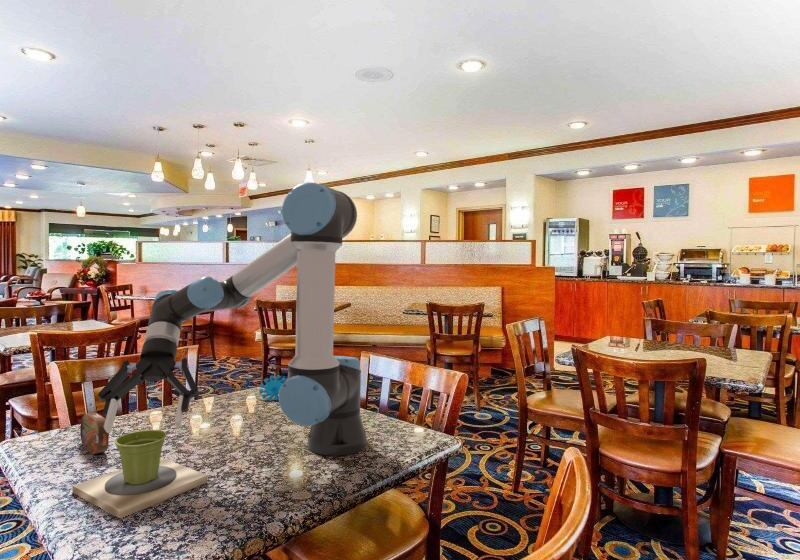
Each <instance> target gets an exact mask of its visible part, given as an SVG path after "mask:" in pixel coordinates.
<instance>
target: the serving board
mask: <svg viewBox="0 0 800 560" xmlns="http://www.w3.org/2000/svg"><path fill="white" fill-rule="evenodd" d="M207 483H208V474H205V473H202V472H200V471H197V470H194V469H192V468H189V467H187V466H184V465H182V464H179V463H177V462H174V461H173V460H169V459H167V458H165V457H162V456H161V458H160V464H159V471H158V476H157V478H156V479H152V480H150V481H149V482H147V483H144V484H136V485H131V484H130V483H125V481H124V476H123V469H122V468H120V469H117V470H114V471H112V472H109V473H105V474H102V475H100V476H96V477H94V478H90V479H87V480H85V481H82V482H79V483H76V484H72V486H71V488H72V489H71V490H72V491H71V492H72V494H73V493H74V494H73V495H75V494H76V496H77V495H78V496H77V497H79V498H81V499H82V498H83V500H84V499H85V500H84V501H86V502H88V501H89V502H88V503H89V504H91V503H92V504H91V505H93V504H94V505H93V506H95V505H96V506H95V507H97V506H98V507H100V508H101V509H100V508H99V509H100V510H102V509H103V510H102V511H104V510H105V511H104V512H106V511H107V512H109V513H111V514H112V515H111V514H110V515H111V516H113V515H114V516H113V517H115V516H116V517H118V518H122V519H124V518H126V517H125V516H127V517H129V516H131V514H132V515H133V513H134V514H136V513H138V511H139V512H140V511H144V510H146V509H148V508H150V507H152V506H155V505H157V504H159V503H161V502H164V501H166V500H170V499H171V498H174V497H176V496H178V495H180V494H183V493H185V492H187V491H190V490H193V489H194V488H197V487H200V486H202V485H204V484H207ZM98 507H97V508H98ZM107 512H106V513H107ZM135 512H136V513H135ZM109 513H108V514H109ZM128 515H129V516H128ZM116 517H115V518H116ZM123 517H124V518H123ZM118 518H117V519H118Z"/></svg>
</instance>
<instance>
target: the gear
mask: <svg viewBox="0 0 800 560" xmlns="http://www.w3.org/2000/svg"><path fill="white" fill-rule="evenodd" d="M269 379H270V380H269ZM269 379H268V378H264V379H263V382H264V383H265V384H266V385H265V384H264V383H260V384H259V387H260V389H259V392H258V393H259V394H261V397H262V399H266V400H267V401H268V400H269V401H268V402H271V401H270V400H272V398H273V401H274V400H277V401H279V398H278V397H279V391H280V388H281V386H282V385H283V383H284V382H285V381H286V380H287V378H285V377H283V376H282V377H281V375H279V374H277V375H276V377H275V375H270V376H269ZM261 388H262V389H261ZM263 389H264V390H263Z"/></svg>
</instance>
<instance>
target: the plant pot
mask: <svg viewBox="0 0 800 560" xmlns="http://www.w3.org/2000/svg"><path fill="white" fill-rule="evenodd" d="M167 434H168V433H167V432H165V431H163V430H157V429H144V430H138V431H134V432H133V431H132V432H129V433H125V434H123V435H120V436H118V437H117V438H116V439H115V440H114V444H115V445H116V447H117V450H118V452H119V457H120V463H121V469H123V476H124V481H125V483H130V484H131V485H136V484H144V483H147V482H149V481H150V480H152V479H156V478H157V476H158V471H159V464H160V458H161V457H162V451H163V445H164V443H165V439H166V438H167V437H168V435H167Z"/></svg>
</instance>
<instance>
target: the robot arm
mask: <svg viewBox="0 0 800 560" xmlns="http://www.w3.org/2000/svg"><path fill="white" fill-rule="evenodd" d="M281 216H282V219H283V222H284V224H285V225H286V227H287V228H288V229H289V230H290V234H288V235H287V236H285V237H284V238H282V240H281V239H280V240H279V242H277V243H276V244H274V245H273V246H272V247H270V248H268V249H267V250H266V251H265V252H263V253H261V254H260V255H259V256H258V257H256V258H255V259H253V260H252V261H250V262H249V263H248V264H246V265H245V266H243V267H242V268H241V269H240V270H238V271H237V272H235V273H234V274H233V275H231V276H230V277H228V278H227V279H225V280H223V281H218V280H217V279H216V278H213V277H211V276H209V275H208V276H203V277H201V278H198V279H196V280H194V281H192V282H191V283H190V284H188V285H185V286H184V287H182V288H181V289H179V290H177V289H172V288H171V289H167V290H165V289H163V290H161V291H159V292H157V294H156V295H155V298H154V300H153V303H152V304H151V309H150V313H149V314H150V315H149V320H148V323H147V328H146V331H145V332H146V333H145V337H144V340H143V344H142V348H141V351H140V357H139V360H138V361H137V362H130V361H129V360H128V359H127V360H124V361H123V362H122V365H121V367H120V368H119V370H118V371H117V372H116V373H115V374H114V375H113V376H112V378H110V380H109V381H108V382H107V383H106V384H105V385H104V386H103V388H102V389H101V390H100V391H99V392H98V393H97V397H98V398H99V400H100V402H101V403H104V406H103V407H104V408H103V410H102V413H103V417H104V418H105V419H106V420H105V423H104V429H105V430H106V432H107V433H109V434H111V433H112V430H113V426H114V423H115V419H116V415H117V412H118V408H119V404H118V401H119V400H120V399H122V398H123V397H124V396H126V395H127V394H128V393H129V392H130V391H132V390H133V389H134V388H135V387H137V386H138V385H141V384H142V383H144V382H145V381H146V382H153V381H157V382H161V381H163V380H166V381H167V383H169V384H171V386H172V387H173V388H174V389H175V391H177V392H178V393H179V396H178V402H177V406H176V412H175V419H174V425H175V427H176V429H181V428H182V427H181V426H182V420H183V415H184V413H188V412H189V407H190V402H191V399H194V398H196V399H197V398H198V397H199V396H200V392H199V388H198V387H197V384H196V382H195V379H194V378H193V376H192V373H191V371H190V369H189V368H190V366H189V361H188V358H182V359H181V360H180V361H179V360H178V361H176V357H177V354H178V353H177V352H178V346H179V341H180V336H181V331H182V326H183V323H184V322H186V321H188V320H190V319H192V318H194V317H197V316H198V315H200V314H202V313H208V312H214V311H215V312H217V311H221V310H223V311H224V310H230V309H231V310H233V309H234V310H236V309H239V308H242V307H245V306H246V305H248V304H249V302H250V301H251V298H252V296H254V295H255V294H257V293H258V292H260V291H261V290H262V289H264V288H265V287H267V286H268V285H270V284H271V283H273V282H274V281H276V280H277V279H279V278H280V277H282V276H283V275H285V274H286V273H287V272H289V271H291V270H292V269H293V268H294V267H296V301H295V304H296V305H295V308H296V309H295V310H296V311H295V348H294V349H295V353H294V354H295V355H294V356H293V357H292V359H290V361H289V362H288V364H287V365H288V367H287V378H286V381H285V382H282V383H283V385H282V386H281V388H280V391H279V394H278V396H277V398H278V404H279V408H280V410H281V412H282V413H283V415H285V416H286V417H287V418H288V420H289V421H291V422H292V423H293V424H296V425H298V426H302V427H310V430H309V432H308V436H307V449H308V450H309V451H311V452H313V453H315V454H317V455H322V456H329V457H330V456H332V457H336V456H339V457H340V456H345V455H346V456H347V455H351V454H356V453H358V452H360V451H362V450H364V449H366V447H367V433H366V431H365V428H364V424H363V421H362V418H361V387H362V386H361V382H362V381H361V379H362V378H361V377H362V376H361V375H362V369H361V361H360V359H359V358H357V357H354V356H345V355H334V333H335V331H334V329H335V328H334V326H335V289H336V287H335V285H336V280H335V279H336V253H337V251H338V250H339V249H340V248H341V247H342V246H343V240H344V238H345V237H347V236H348V235H349V234H350V233H351V232H352V231H353V229H354V227H355V226H356V224H357V218H358V211H357V207H356V205H355V203H354V201H353V200H352V199H351V197H350V196H349V195H347V194H346V193H345V192H343V191H339V190H336V189H334V188H331V187H329V186H327V185H326V184H323V183H318V182H317V183H316V182H313V181H311V182H310V181H309V182H308V181H307V182H303V183H299V184H298V185H296V186H295V187H293V188H292V189H291V190H290V191H289V192H288V193H287V195H286V196H285V198H284V200H283V203H282V207H281ZM176 368H177V369H178V370H179V371H181V372H183V375H184V378H185V380H186V382H187V385H188V387H189V389H188V388H187V387H185V385H184V384H183V383H181V381H180V380H179V379H178V378H177V377H176V376H175V374H174V373H173V372H174V371H175V370H176ZM134 370H135V371H134ZM133 371H134V372H133ZM130 374H132V375H131V376H129V375H130ZM128 376H129V377H128Z"/></svg>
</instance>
